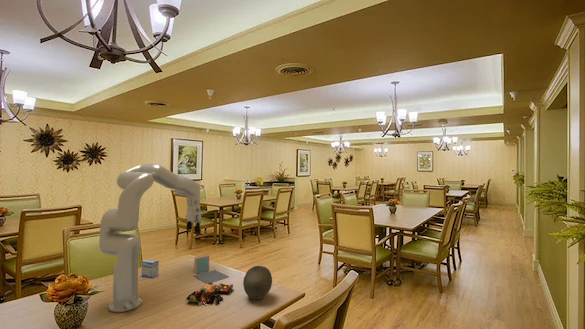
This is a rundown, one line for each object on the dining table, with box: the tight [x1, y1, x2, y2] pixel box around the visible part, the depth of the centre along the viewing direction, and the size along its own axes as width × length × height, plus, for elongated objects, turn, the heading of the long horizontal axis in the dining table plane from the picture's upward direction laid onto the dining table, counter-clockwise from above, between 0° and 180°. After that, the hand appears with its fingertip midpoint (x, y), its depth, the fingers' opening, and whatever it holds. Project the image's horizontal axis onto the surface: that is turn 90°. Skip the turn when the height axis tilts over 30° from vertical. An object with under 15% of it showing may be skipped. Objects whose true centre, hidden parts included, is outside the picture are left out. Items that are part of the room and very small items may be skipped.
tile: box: [193, 254, 210, 275], centre depth 172 cm, size 3×8×9 cm, turn 137°
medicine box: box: [141, 259, 160, 279], centre depth 164 cm, size 8×4×9 cm, turn 73°
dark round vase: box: [242, 265, 273, 300], centre depth 139 cm, size 14×14×15 cm
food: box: [185, 282, 234, 306], centre depth 141 cm, size 22×19×4 cm
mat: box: [193, 269, 230, 284], centre depth 165 cm, size 15×14×1 cm
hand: (193, 230), depth 177 cm, fingers open, 9 cm apart
